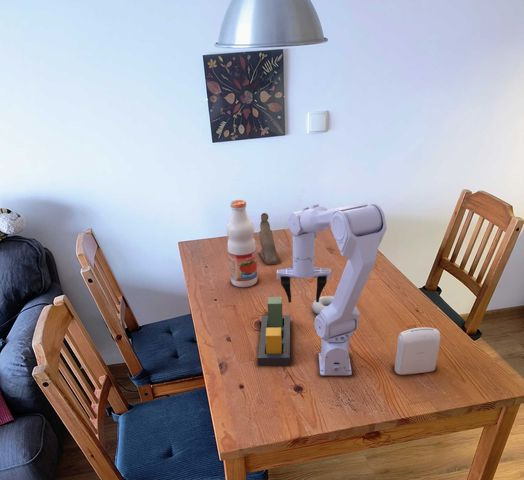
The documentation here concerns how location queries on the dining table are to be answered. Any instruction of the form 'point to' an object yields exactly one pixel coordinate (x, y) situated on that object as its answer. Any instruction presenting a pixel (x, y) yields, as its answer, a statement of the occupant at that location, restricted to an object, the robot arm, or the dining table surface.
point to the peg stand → (285, 333)
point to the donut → (322, 303)
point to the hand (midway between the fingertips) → (303, 300)
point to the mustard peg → (273, 341)
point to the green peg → (275, 312)
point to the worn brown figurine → (267, 242)
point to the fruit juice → (241, 246)
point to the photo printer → (417, 350)
